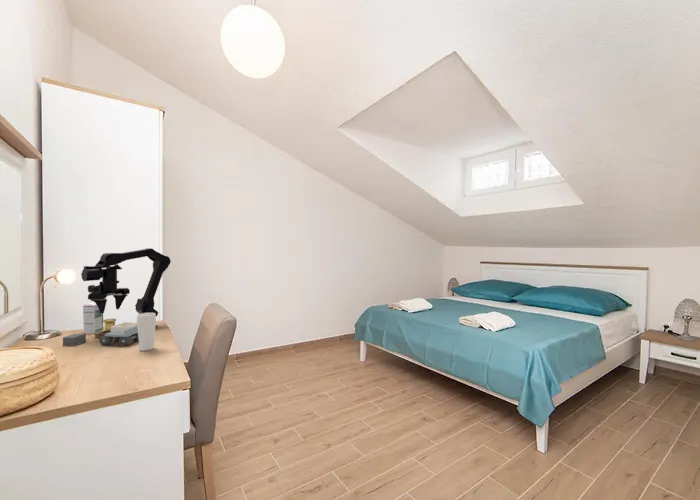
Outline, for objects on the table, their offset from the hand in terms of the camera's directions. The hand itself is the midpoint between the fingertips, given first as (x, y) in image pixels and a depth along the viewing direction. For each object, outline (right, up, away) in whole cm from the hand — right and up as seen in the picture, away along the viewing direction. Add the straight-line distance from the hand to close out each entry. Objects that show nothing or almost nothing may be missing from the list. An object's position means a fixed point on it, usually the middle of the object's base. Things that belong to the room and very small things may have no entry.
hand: (110, 311), depth 156 cm
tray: (+14, -7, -9) cm, 18 cm away
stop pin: (0, -12, 0) cm, 12 cm away
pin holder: (0, -12, 0) cm, 12 cm away
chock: (-7, -12, -12) cm, 19 cm away
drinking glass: (+30, -13, -19) cm, 37 cm away
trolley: (+14, -12, -10) cm, 21 cm away
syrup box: (-13, -12, +6) cm, 18 cm away
